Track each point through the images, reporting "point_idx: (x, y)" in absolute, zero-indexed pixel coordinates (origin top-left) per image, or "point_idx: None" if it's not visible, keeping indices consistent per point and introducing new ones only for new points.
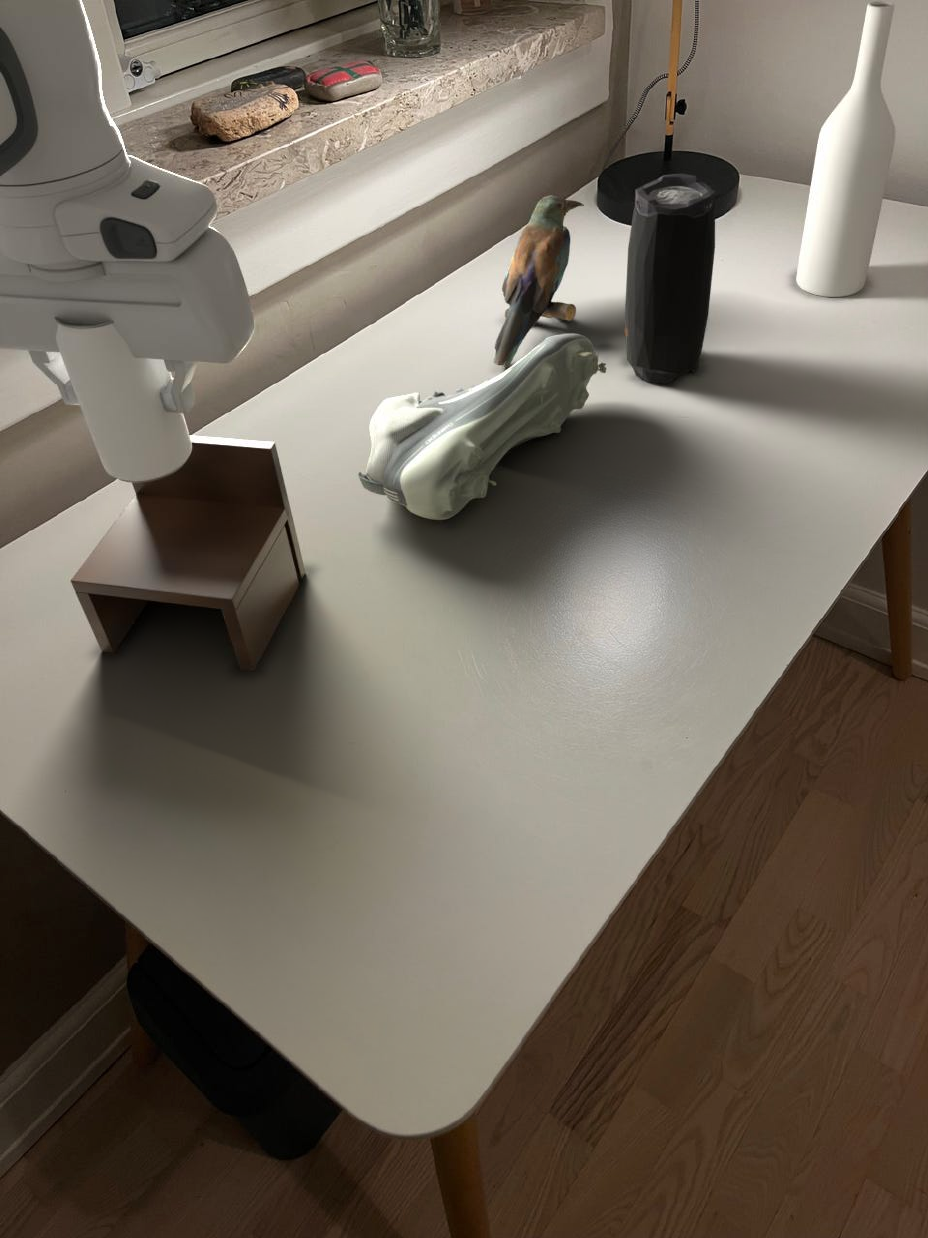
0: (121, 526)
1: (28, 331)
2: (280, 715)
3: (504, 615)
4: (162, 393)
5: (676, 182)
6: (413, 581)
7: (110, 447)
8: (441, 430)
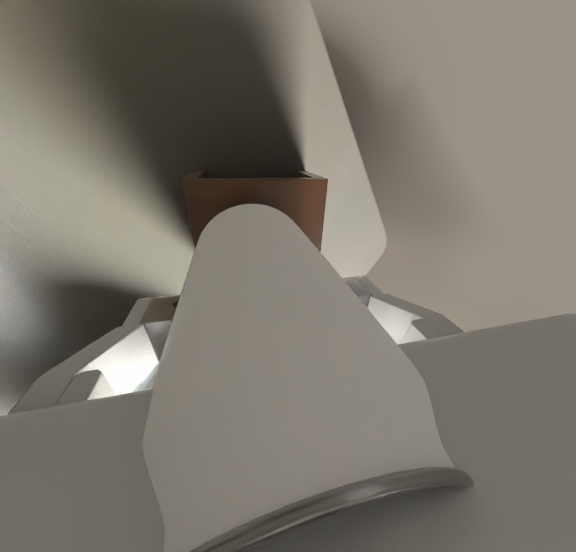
0: (314, 244)
1: (515, 381)
2: (146, 128)
3: (47, 258)
4: (165, 318)
5: None
6: (134, 272)
7: (265, 217)
8: (146, 376)
